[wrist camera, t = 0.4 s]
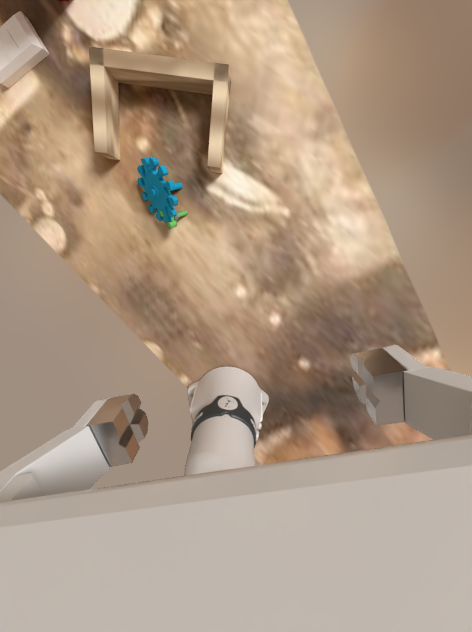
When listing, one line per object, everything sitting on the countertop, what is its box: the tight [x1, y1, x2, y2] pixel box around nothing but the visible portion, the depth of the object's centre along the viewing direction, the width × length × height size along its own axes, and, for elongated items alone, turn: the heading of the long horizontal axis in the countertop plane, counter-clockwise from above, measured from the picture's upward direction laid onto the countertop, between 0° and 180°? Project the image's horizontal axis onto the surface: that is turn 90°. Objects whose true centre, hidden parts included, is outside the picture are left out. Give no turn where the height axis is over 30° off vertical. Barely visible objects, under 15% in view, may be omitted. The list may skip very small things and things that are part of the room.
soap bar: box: [0, 11, 49, 88], centre depth 40 cm, size 5×9×3 cm, turn 118°
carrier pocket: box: [89, 47, 231, 173], centre depth 41 cm, size 13×20×4 cm, turn 83°
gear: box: [137, 157, 187, 228], centre depth 44 cm, size 11×6×10 cm
